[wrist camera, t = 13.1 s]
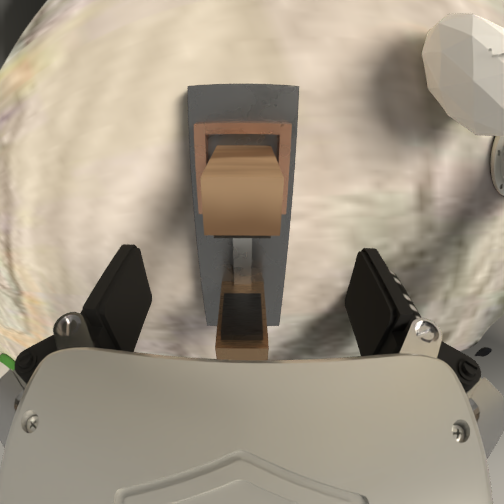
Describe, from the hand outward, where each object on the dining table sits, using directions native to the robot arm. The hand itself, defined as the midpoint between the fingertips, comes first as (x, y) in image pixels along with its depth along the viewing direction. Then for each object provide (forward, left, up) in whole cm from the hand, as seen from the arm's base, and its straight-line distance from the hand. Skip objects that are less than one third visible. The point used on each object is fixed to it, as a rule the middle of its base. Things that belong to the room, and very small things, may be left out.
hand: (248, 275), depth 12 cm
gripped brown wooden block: (0, 0, -17) cm, 17 cm away
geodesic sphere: (-23, -14, -19) cm, 33 cm away
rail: (0, +7, -19) cm, 20 cm away
